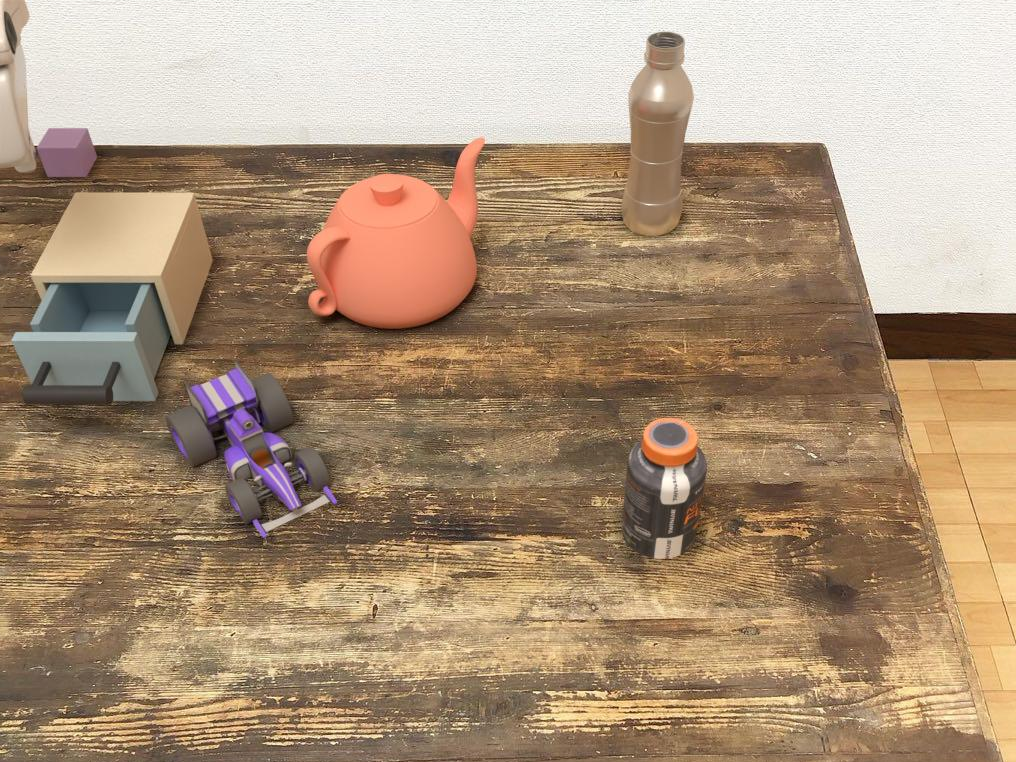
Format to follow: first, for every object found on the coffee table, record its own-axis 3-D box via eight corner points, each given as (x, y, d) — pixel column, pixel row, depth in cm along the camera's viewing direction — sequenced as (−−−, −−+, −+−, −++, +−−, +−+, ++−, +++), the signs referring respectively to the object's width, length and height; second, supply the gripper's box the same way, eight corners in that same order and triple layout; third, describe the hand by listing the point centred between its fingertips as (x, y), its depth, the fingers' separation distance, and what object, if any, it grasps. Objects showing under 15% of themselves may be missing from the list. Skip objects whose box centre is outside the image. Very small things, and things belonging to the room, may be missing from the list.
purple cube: (50, 184, 121) (36, 148, 118) (61, 164, 124) (48, 128, 120) (89, 184, 121) (76, 148, 117) (99, 164, 124) (87, 127, 120)
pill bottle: (692, 570, 83) (709, 468, 75) (617, 561, 84) (625, 458, 75) (697, 514, 87) (714, 411, 79) (625, 506, 88) (633, 402, 79)
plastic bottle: (687, 217, 116) (708, 29, 101) (671, 251, 112) (691, 60, 97) (629, 206, 117) (642, 20, 102) (612, 240, 113) (622, 50, 98)
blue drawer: (142, 438, 92) (118, 377, 87) (21, 438, 92) (-9, 377, 87) (187, 315, 103) (168, 254, 98) (80, 314, 104) (55, 254, 98)
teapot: (443, 217, 116) (434, 106, 107) (540, 279, 109) (540, 166, 99) (271, 300, 106) (245, 187, 97) (365, 375, 99) (347, 260, 89)
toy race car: (248, 554, 85) (230, 497, 80) (174, 447, 93) (153, 389, 88) (355, 502, 88) (343, 445, 83) (274, 404, 96) (259, 346, 91)
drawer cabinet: (185, 352, 101) (160, 275, 95) (63, 351, 101) (30, 275, 95) (215, 267, 110) (194, 192, 104) (102, 267, 110) (75, 192, 104)
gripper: (-73, -42, 91) (-11, 114, 101) (-84, 63, 78) (-11, 230, 88) (5, -51, 92) (59, 104, 102) (7, 51, 79) (68, 216, 90)
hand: (27, 163), depth 95 cm, fingers closed
